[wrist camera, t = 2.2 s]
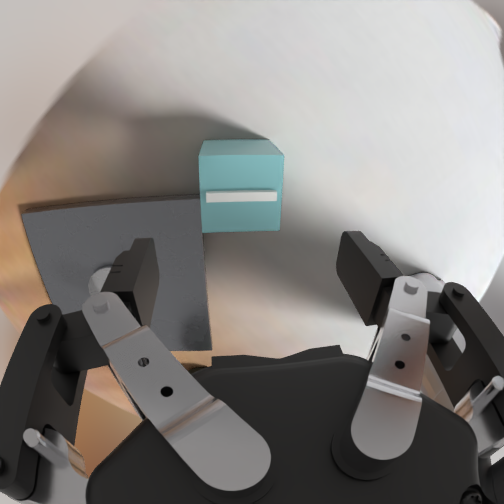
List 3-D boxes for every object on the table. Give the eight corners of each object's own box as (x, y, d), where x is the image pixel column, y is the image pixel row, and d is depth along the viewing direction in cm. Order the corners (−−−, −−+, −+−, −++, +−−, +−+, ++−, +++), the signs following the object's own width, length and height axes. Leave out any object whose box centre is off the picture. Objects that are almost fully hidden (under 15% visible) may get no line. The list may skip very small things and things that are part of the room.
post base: (200, 194, 24) (195, 226, 19) (212, 342, 34) (212, 386, 28) (27, 209, 23) (-8, 239, 17) (75, 339, 32) (61, 377, 27)
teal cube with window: (269, 139, 23) (285, 156, 17) (266, 199, 25) (280, 233, 20) (203, 140, 22) (198, 157, 17) (205, 200, 25) (201, 235, 19)
